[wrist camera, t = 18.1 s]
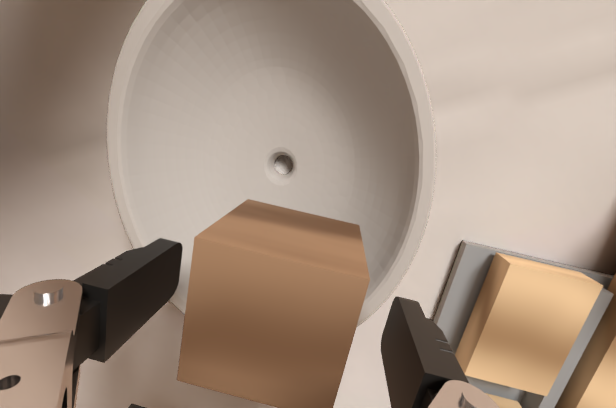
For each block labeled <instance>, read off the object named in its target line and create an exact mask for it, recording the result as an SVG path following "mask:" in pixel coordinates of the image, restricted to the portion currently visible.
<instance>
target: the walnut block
mask: <svg viewBox="0 0 616 408" xmlns="http://www.w3.org/2000/svg"><path fill="white" fill-rule="evenodd" d="M369 282H370V277H369V272H368V267H367V262H366V257H365V252H364V246H363V241H362V236H361V231H360V226H359V225H357V224H353V223H348V222H344V221H340V220H336V219H331V218H327V217H323V216H319V215H314V214H310V213H306V212H301V211H297V210H293V209H289V208H284V207H280V206H276V205H271V204H267V203H263V202H259V201H254V200H250V199H247V200H246V201H244V202H243V203H242V204H240V205H239V206H237V207H236V208H235V209H233V210H232V211H230V212H229V213H228V214H226V215H225V216H223V217H222V218H221V219H219V220H218V221H216V222H215V223H214V224H212V225H211V226H209V227H208V228H207V229H205V230H204V231H202V232H201V233H199V234H198V235H197V236H195V237H194V245H193V253H192V261H191V269H190V278H189V286H188V294H187V302H186V310H185V318H184V326H183V334H182V343H181V351H180V359H179V367H178V375H177V380H178V381H181V382H185V383H189V384H193V385H196V386H200V387H204V388H207V389H211V390H215V391H218V392H222V393H226V394H230V395H233V396H237V397H241V398H244V399H248V400H252V401H255V402H259V403H263V404H266V405H270V406H274V407H278V408H333V406H334V402H335V399H336V395H337V392H338V388H339V385H340V382H341V378H342V375H343V371H344V368H345V364H346V361H347V357H348V354H349V351H350V347H351V344H352V340H353V337H354V333H355V330H356V327H357V323H358V320H359V316H360V313H361V309H362V306H363V303H364V299H365V296H366V292H367V289H368V285H369Z"/></svg>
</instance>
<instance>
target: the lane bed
mask: <svg viewBox="0 0 616 408" xmlns="http://www.w3.org/2000/svg"><path fill="white" fill-rule="evenodd" d="M496 252H497V253H501V254H505V255H510V256H514V257H518V258H522V259H527V260H531V261H535V262H539V263H544V264H548V265H552V266H556V267H561V268H565V269H569V270H573V271H578V272H581V273H583V274H584V275H586V276H588V277H590V278H591V279H593V280H595V281H596V282H598V283H600V284H602V285H603V288H602V289H601V291H600V293H599V295H598V297H597V299H596V301H595V303H594V305H593V307H592V309H591V311H590V313H589V315H588V317H587V319H586V321H585V323H584V325H583V327H582V329H581V331H580V333H579V334H578V336H577V338H576V340H575V342H574V344H573V346H572V348H571V350H570V352H569V354H568V356H567V358H566V360H565V362H564V364H563V366H562V368H561V370H560V372H559V374H558V376H557V378H556V379H555V381H554V383H553V385H552V387H551V389H550V391H549V393H548V395H547V396H543V395H540V394H536V393H532V392H528V391H524V390H520V389H516V388H512V387H509V386H505V385H501V384H497V383H493V382H489V381H485V380H481V379H477V378H474V377H470V376H466V375H465V376H466V378H467V380H468V382H469V384H471V385H473V386H475V387H477V388H478V389H480V390H481V391H483V392H484V393H488V394H491V395H495V396H499V397H503V398H507V399H511V400H514V401H518V402H519V404H520V405H521V407H522V408H554V407H555V406H556V404H557V402H558V400H559V398H560V396H561V394H562V392H563V390H564V388H565V387H566V385H567V383H568V381H569V379H570V377H571V375H572V373H573V371H574V369H575V367H576V366H577V364H578V362H579V360H580V358H581V356H582V354H583V352H584V350H585V348H586V347H587V345H588V343H589V341H590V339H591V337H592V335H593V333H594V331H595V329H596V327H597V326H598V324H599V322H600V320H601V318H602V316H603V314H604V312H605V310H606V308H607V307H608V305H609V303H610V301H611V299H612V297H613V295H614V294H613V293H611V292H609V291H608V290H607V289H608V287H609V285H610V283H611V281H612V279H613V277H614V276H612V275H608V274H604V273H600V272H595V271H591V270H587V269H582V268H578V267H574V266H570V265H565V264H561V263H557V262H553V261H548V260H544V259H540V258H536V257H531V256H527V255H523V254H519V253H514V252H510V251H506V250H501V249H497V248H493V247H489V246H484V245H480V244H476V243H472V242H467V241H463V240H462V243H461V246H460V249H459V251H458V254H457V257H456V260H455V262H454V265H453V268H452V270H451V273H450V276H449V279H448V281H447V284H446V287H445V290H444V292H443V295H442V298H441V301H440V303H439V306H438V309H437V312H436V314H435V317H434V320H433V322H434V323H435V324H436V325H437V326H438V327H439V328H440V329H441V330H442V331H443V333H444V335H445V337H446V339H447V341H448V344H449V345H450V347H451V349H452V351H453V354H454V355H455V353H456V351H457V348H458V346H459V343H460V341H461V338H462V336H463V333H464V331H465V328H466V326H467V323H468V321H469V318H470V316H471V313H472V311H473V308H474V306H475V303H476V301H477V298H478V296H479V293H480V291H481V288H482V286H483V283H484V281H485V278H486V276H487V273H488V271H489V268H490V266H491V263H492V261H493V258H494V256H495V253H496Z"/></svg>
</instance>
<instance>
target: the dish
mask: <svg viewBox="0 0 616 408" xmlns="http://www.w3.org/2000/svg"><path fill="white" fill-rule="evenodd" d="M106 139H107V157H108V165H109V173H110V179H111V184H112V189H113V194H114V198H115V201H116V205H117V208H118V212H119V215H120V218H121V220H122V223H123V226H124V229H125V231H126V233H127V236H128V238H129V240H130V242H131V245H132V247H133V249H137V248H140V247H145V246H147V245H149V244H150V243H152V242H154V241H155V240H157V239H159V238H163V239H167V240H171V241H175V242H180V243H181V244H182V247H183V250H182V259H181V268H180V277H179V283H178V287H177V289H176V291H175V293H174V295H173V296H172V297H171V298H170V299H169V300H170V301H171V302H172V303H173V304H174V305H175V306H176V307H177V308H178V309H179V310H180V311H181V312H182V313H183V314H185V310H186V302H187V294H188V286H189V278H190V269H191V261H192V253H193V245H194V237H195V236H197V235H198V234H199V233H201V232H202V231H204V230H205V229H207V228H208V227H209V226H211V225H212V224H214V223H215V222H216V221H218V220H219V219H221V218H222V217H223V216H225V215H226V214H228V213H229V212H230V211H232V210H233V209H235V208H236V207H237V206H239V205H240V204H242V203H243V202H244V201H246V200H247V199H250V200H254V201H259V202H263V203H267V204H271V205H276V206H280V207H284V208H289V209H293V210H297V211H301V212H306V213H310V214H314V215H319V216H323V217H327V218H331V219H336V220H340V221H344V222H348V223H353V224H357V225H359V226H360V231H361V236H362V241H363V246H364V252H365V257H366V262H367V267H368V272H369V277H370V282H369V285H368V289H367V292H366V296H365V299H364V303H363V306H362V309H361V313H360V316H359V320H358V323H357V326H359V325H360V324H362V323H363V322H364V321H366V320H367V319H368V318H369V317H370V316H371V315H372V314H374V313H375V312H376V311H377V310H378V309H379V308H380V307H381V306H382V305H383V303H384V302H385V301H386V300H387V299H388V298H389V297H390V295H391V294H392V293H393V291H394V290H395V289H396V287H397V286H398V285H399V283H400V282H401V280H402V278H403V277H404V275H405V274H406V272H407V270H408V269H409V267H410V265H411V263H412V261H413V259H414V257H415V255H416V253H417V250H418V248H419V245H420V242H421V240H422V237H423V235H424V231H425V228H426V225H427V221H428V218H429V214H430V209H431V204H432V199H433V193H434V185H435V177H436V133H435V125H434V117H433V110H432V105H431V101H430V96H429V92H428V87H427V84H426V81H425V78H424V75H423V71H422V68H421V65H420V63H419V61H418V58H417V56H416V53H415V51H414V49H413V46H412V44H411V42H410V40H409V39H408V37H407V35H406V33H405V31H404V29H403V27H402V25H401V24H400V22H399V21H398V19H397V18H396V16H395V15H394V13H393V12H392V10H391V9H390V7H389V6H388V5H387V4H386V3H385V1H384V0H147V1H146V2H145V4H144V5H143V6H142V8H141V10H140V11H139V13H138V15H137V16H136V18H135V20H134V21H133V23H132V25H131V27H130V30H129V32H128V34H127V36H126V38H125V40H124V43H123V46H122V48H121V51H120V54H119V57H118V59H117V63H116V67H115V71H114V74H113V78H112V83H111V89H110V94H109V101H108V111H107V136H106ZM281 155H285V156H288V157H289V158H290V159H291V160H292V162H293V168H292V170H291V172H290V173H288V174H280V173H279V172H277V171H276V169H275V166H274V163H275V160H276V158H277V157H279V156H281Z"/></svg>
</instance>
